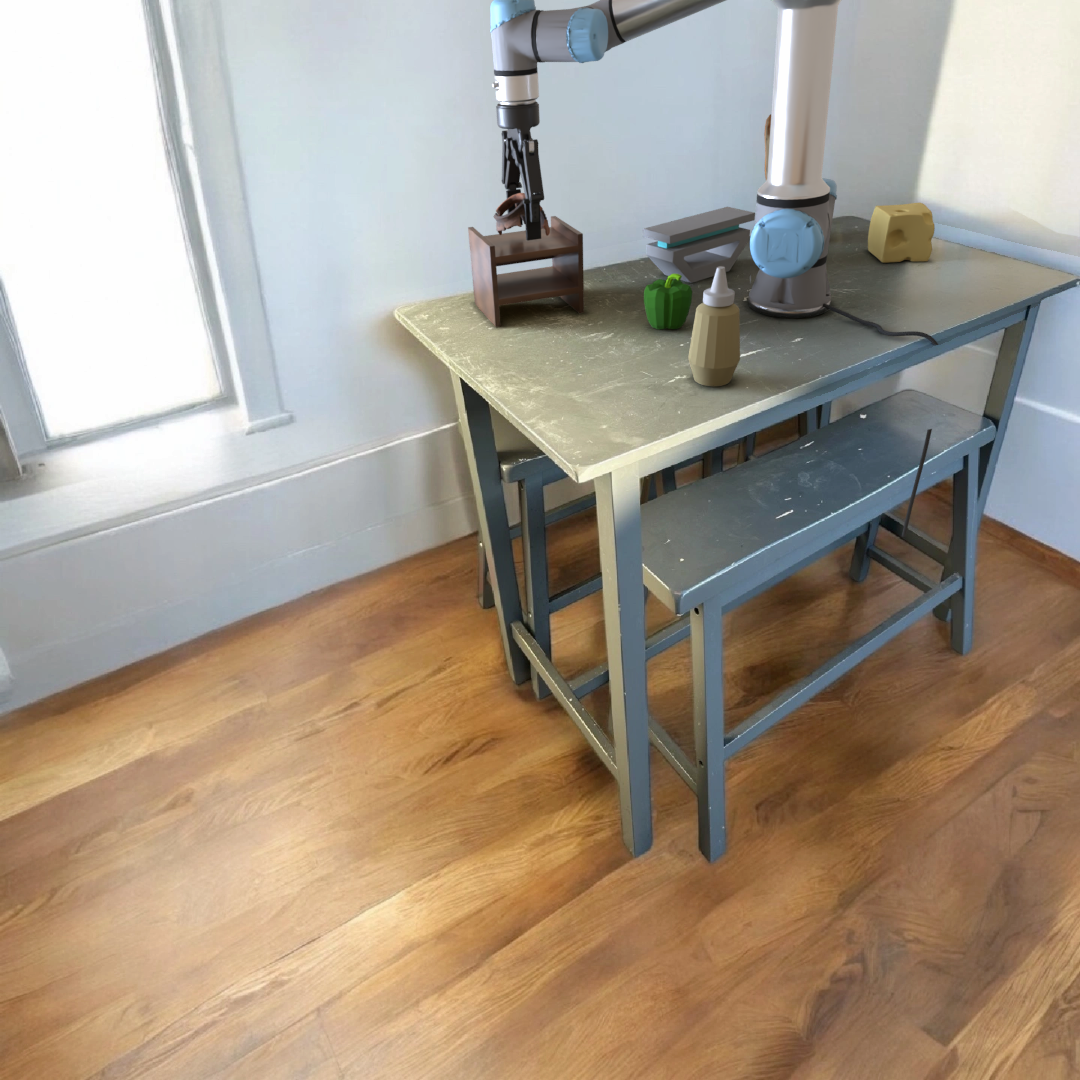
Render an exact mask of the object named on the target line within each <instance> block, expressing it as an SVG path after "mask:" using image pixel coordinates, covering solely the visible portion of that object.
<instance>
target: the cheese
mask: <svg viewBox="0 0 1080 1080" xmlns="http://www.w3.org/2000/svg"><path fill="white" fill-rule="evenodd" d="M933 219H934V217H933V212H932V210H931V209H930V208H929V207H928V206H927V205H926V204H925V203H923V202H910V203H904V204H903V203H901V204H889V205H888V204H887V205H886V204H885V205H884V204H883V205H875V206H874V208H873V212H872V215H871V218H870V221H869V222H870V223H869V228H868V235H867V250H868V252H869V253H871V254H872V255H873V256H874V257H876V259H878V261H880V263H884V264H886V263H887V264H888V263H901V262H903V261H910V262H928V261H929V260H930V258H931V256H932V252H933V245H932V244H933V243H932V239H933V237H934V235H935V230H936V227H935V223H934V220H933Z"/></svg>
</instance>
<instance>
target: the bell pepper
mask: <svg viewBox="0 0 1080 1080" xmlns="http://www.w3.org/2000/svg"><path fill="white" fill-rule="evenodd" d="M681 277H682V276H681V275H679V274H674V273H673V274H671V275H670V276H667V278H666V279H662V278H658V279H656V280H654V281H652V283H649V284H646V286H645V287H644V291H643V304H644V310H645V314H646V318H647V322H648V323H649V325H650V326H651V328H653V329H656V330H665V329H668V330H677V329H681V328H682V327H683V326H684V324H685V323H686V321H687V318H688V316H689V312H690V309H691V305H692V300H693V290H692V288H691V285H690V284H687V283H684V281H682V280H680V279H681Z"/></svg>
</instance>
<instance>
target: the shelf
mask: <svg viewBox="0 0 1080 1080" xmlns="http://www.w3.org/2000/svg"><path fill="white" fill-rule="evenodd" d="M549 228H550V233H549V235H548V236H547V235H546V233H545V229H544V228H543V229H541V239H536V240H528V241H527V240H526V229H525V230H518V231H511V232H502V235H500V234H499V233H496V234H488V235H483V234H482V233H481V232H480V231H478V230H477V229H476V228H475V227H473V226H468V227H467V232H468V242H469V255H470V265H471V277H472V287H473V299H474V304H475V306H476V307H477V308H478V309H479V310H480V311H481V313H483V315H484V316H485V317H486V318H487V319H488V320H489V321H490V323H491V324H492V325H493V326H494V327H495V328H500V327H501V326H502V325H501V313H500V312H501V311H500V306H506V305H513V304H519V303H524V302H525V303H527V302H531V301H538V300H545V299H551V298H557V297H559V298H561V299H562V300H563V301H564V302H565V303H566V304H567V305H569V307H571V308H572V309H573V310H574V311H576V313H578V314H584V313H585V292H584V291H585V289H584V288H585V287H584V286H585V285H584V283H585V282H584V280H585V279H584V278H585V277H584V233H583V232H581V231H579V230H578V229H577V228H575V227H573V226H572V225H570V224H568V223H567V222H565V221H564V220H562V219H561V218H560V217H558V216H556V215H551V216H550V226H549ZM550 259H551V262H552V263H551V264H552V265H551V266H545V267H539V268H531V269H525V270H518V271H517V270H516V271H511V272H505V273H498V272H497V271H498V270H497V267H501V266H509V265H517V264H522V263H530V262H536V261H543V260H550Z"/></svg>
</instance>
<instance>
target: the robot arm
mask: <svg viewBox="0 0 1080 1080" xmlns="http://www.w3.org/2000/svg"><path fill="white" fill-rule="evenodd" d="M726 1H727V0H598V1H595V2H593V3H591V4H588V5H584V6H578V7H573V8H567V9H566V8H563V9H549V10H548V9H547V10H544V9H541V10H540V9H537V6H536V3H535V0H492V2H491V3H490V30H489V32H490V36H491V38H490V39H491V50H492V60H493V75H494V76H493V77H494V81H493V82H492V83H491V86H492V88H493V89H495V100H496V101H497V102H499V103H497V104H496V106H495V107H496V108H495V110H496V111H495V112H496V124H497V126H498V128H500V129H503V130H501V141H502V142H501V144H502V145H501V146H502V147H501V148H502V149H501V150H502V151H501V156H502V157H501V183H502V185H504V189H505V195H506V196H505V197H506V199H507V198H509V197H511V196H512V195H515V194H518V193H522V190H521V189H522V188H523V193H525V197H526V199H524V200H523V204H524V207H525V224H524V222H523V220H522V217H521V216H520V218H521V226H523V225H525V230H526V240H527V241H528V240H536V239H541V218H540V206H541V201H544V200H545V194H544V193H545V192H544V185H543V177H542V170H541V169H542V168H541V162H540V154H539V140H538V138H537V139H534V138H532V134H531V129H532V128H536V127H538V126H539V125H540V121H541V120H540V104H539V102H537V101H536V100H538V99H539V97H540V88H539V72H538V63H579V64H584V63H590V62H599V61H601V60H602V59H603V58H604V56H605V53H606V52H608V51H610V50H612V49H613V48H616V47H618V46H620V45H623V44H625V43H627V42H629V41H632V40H633V39H637V38H639V37H641V36H644V35H646V34H648V33H650V32H653V31H656V30H658V29H661V28H664V27H665V26H668V25H671V24H672V23H676V22H677V21H680V20H682V19H685V18H687V17H691V16H692V15H694V14H697V13H699V12H702V11H704V10H707V9H710V8H712V7H714V6H716V5H718V4H721V3H724V2H726ZM770 1H771V3H772V4H773V5H774V6H775V7H776V10H777V20H776V32H775V33H776V34H775V35H776V36H775V50H774V64H773V65H774V66H773V82H772V84H773V85H772V98H771V113H770V114H771V127H770V143H769V159H768V175H767V180H766V179H765V182H763V183H762V184H761V185H760V186H759V188H758V189H757V190H756V204H755V220H754V227H753V229H752V231H751V233H750V237H749V250H750V255H751V258H752V260H753V262H754V264H755V265H756V266H757V268H759V270H758V272H757V274H756V276H755V279H754V281H753V284H752V287H751V288H750V290H749V294H748V300H747V305H748V307H749V308H750V309H751V310H753V311H755V312H757V313H759V314H762V315H765V316H770V317H775V318H783V319H801V318H802V319H803V318H811V317H816V316H819V315H823V314H824V313H826V312H828V311H832V312H834V313H836V314H838V315H840V316H844V317H845V318H847V319H850V320H852V321H854V322H855V323H859V324H861V325H864V326H868V327H872V328H874V329H875V328H876V329H877V330H878V332H879V333H880V334H882V335H885V336H888V337H908V336H909V337H911V336H912V337H913V336H915V337H916V336H917V337H921V338H925V339H926V340H928V342H930V343H931V344H932V345H934V346H938V345H939V343H938V342H937V340H936V339H935V338H934V337H933V336H931V335H930V334H928V333H926V332H923V331H916V330H915V331H914V330H913V331H912V330H910V331H889V330H885V329H884V328H883V327H882V326H881V325H880V324H878V323H876V322H873V321H870V320H869V321H868V320H864V319H862V318H859V317H857V316H855V315H853V314H851V313H849V312H846V311H844V310H842V309H839V308H837V307H835V306H833V305H831V303H832V302H831V301H832V294H831V293H832V291H831V288H830V282H829V276H828V271H827V261H828V252H829V247H830V240H831V234H832V233H831V232H832V225H833V219H834V212H835V205H836V200H837V199H838V195H837V189H838V185H837V183H836V181H835V180H833V179H831V178H826V177H825V178H824V177H823V165H824V158H825V157H824V156H825V145H826V135H827V124H828V115H829V114H828V113H829V105H830V94H831V83H832V73H833V62H834V54H835V53H834V52H835V43H836V32H837V31H836V30H837V21H838V12H839V5H840V4H841V2H842V0H770ZM520 181H521V182H522V183H521V182H520ZM515 208H516V207H515V204H514V205H513V206H512V207H510V208H509V209H508V210H507V211H506V212H507V214H508V213H510V212H511V211H513V210H514V209H515ZM749 275H750V276H749V284H751V283H752V282H751V281H752V276H751V274H749ZM932 432H933V428H930V429H927V430H926V435H925V440H924V444H923V448H922V453H921V455H920V456H921V457H920V461H919V464H918V467H917V472H916V476H915V478H914V479H915V480H914V483H913V487H912V491H911V494H910V499H909V503H908V506H907V510H906V515H905V519H904V523H903V529H902V533H901V537H902V538H906V537H907V533H908V527H909V523H910V519H911V515H912V509H913V506H914V504H915V499H916V495H917V491H918V487H919V484H920V480H921V476H922V473H923V468H924V464H925V460H926V458H927V457H926V456H927V453H928V449H929V445H930V440H931V435H932Z"/></svg>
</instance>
